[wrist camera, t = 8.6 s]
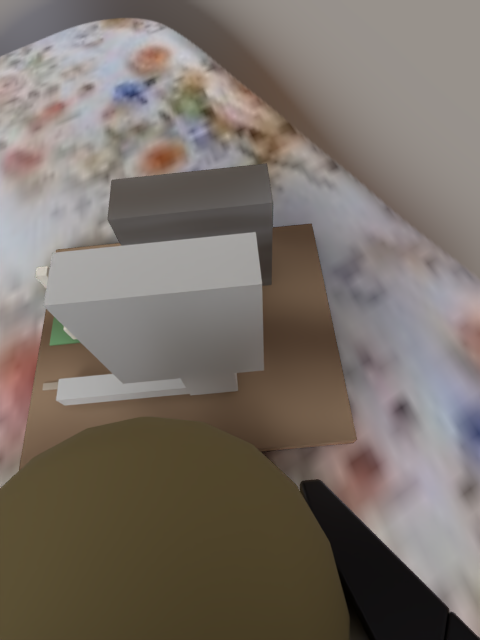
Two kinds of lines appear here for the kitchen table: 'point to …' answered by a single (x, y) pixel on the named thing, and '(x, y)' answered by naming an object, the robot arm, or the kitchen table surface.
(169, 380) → the block
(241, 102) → the kitchen table surface
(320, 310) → the board
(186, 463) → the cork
